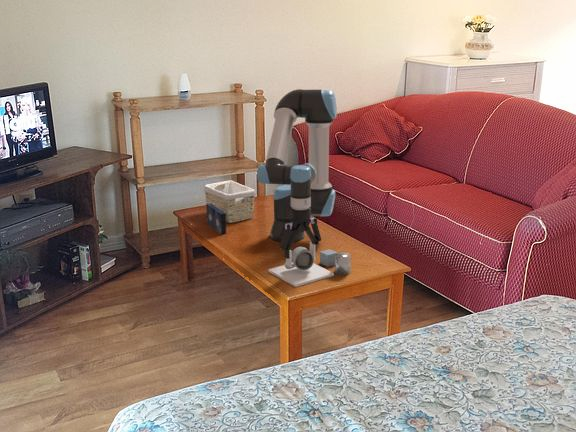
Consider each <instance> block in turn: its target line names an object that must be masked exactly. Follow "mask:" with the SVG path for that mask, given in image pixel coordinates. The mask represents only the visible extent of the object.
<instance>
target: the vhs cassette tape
mask: <svg viewBox="0 0 576 432" xmlns="http://www.w3.org/2000/svg"><path fill="white" fill-rule="evenodd" d="M206 203H207V202H206ZM206 203H205V206H206V209H205V210H206V211H205V212H206V225H208V226H209V227H211V228H212V229H213V230H214V231H216V232H217V233H218V234H220V235H227V222H226V213H224V212H223V211H221V210H220V209H219V208H217V207H216V206H214V205H213V204H211V203H207V204H206Z"/></svg>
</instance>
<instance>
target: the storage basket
mask: <svg viewBox="0 0 576 432" xmlns="http://www.w3.org/2000/svg"><path fill="white" fill-rule="evenodd" d="M217 189H222V190H217ZM203 191H204V193H205V202H206V203H205V205H206V204H207V203H211V204H213V205H214V206H216V207H217V208H219V209H220V210H221V211H223V212H224V213H226V223H230V224H233V223H237V222H240V221H247V220H249V219H250V220H251V219H253V218H254V209H255V208H254V207H255V196H256V189H253V188H251V187H249V186H247V185H243V184H241V183H238V182H236V181H234V180H232V179H230V180H225V181H217V182H215V183H208V184H205V185H204V188H203Z"/></svg>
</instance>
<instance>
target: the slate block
mask: <svg viewBox="0 0 576 432" xmlns="http://www.w3.org/2000/svg"><path fill="white" fill-rule="evenodd" d="M336 253H338V251H335V250H332V249H330V248H329V249H325V250H321V251H319V264H320V265H323V266H325V267H326V268H328V267H333V266H335V254H336Z"/></svg>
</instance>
